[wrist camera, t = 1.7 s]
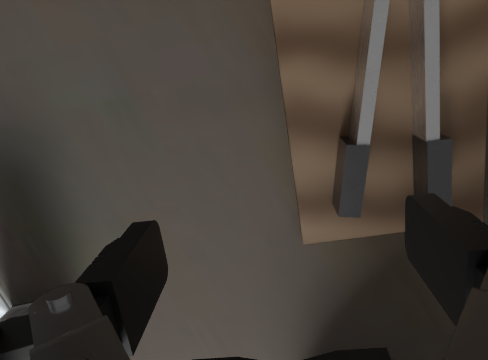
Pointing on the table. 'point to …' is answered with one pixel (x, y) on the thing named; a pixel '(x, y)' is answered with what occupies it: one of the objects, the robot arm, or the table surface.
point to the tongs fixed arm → (428, 103)
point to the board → (377, 109)
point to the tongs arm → (360, 114)
